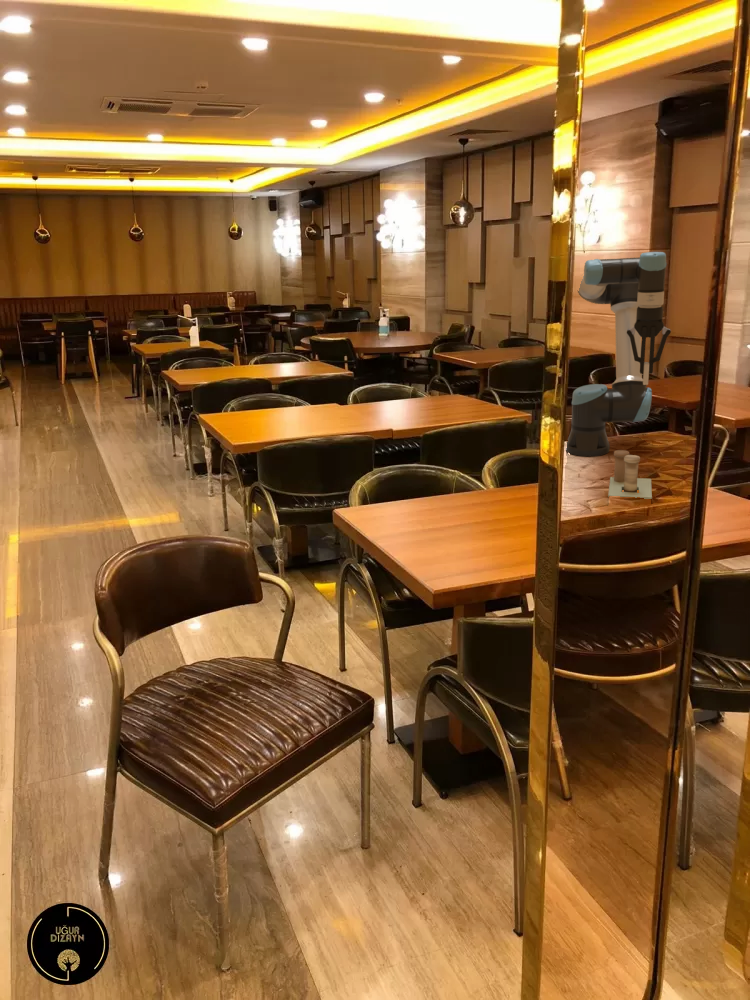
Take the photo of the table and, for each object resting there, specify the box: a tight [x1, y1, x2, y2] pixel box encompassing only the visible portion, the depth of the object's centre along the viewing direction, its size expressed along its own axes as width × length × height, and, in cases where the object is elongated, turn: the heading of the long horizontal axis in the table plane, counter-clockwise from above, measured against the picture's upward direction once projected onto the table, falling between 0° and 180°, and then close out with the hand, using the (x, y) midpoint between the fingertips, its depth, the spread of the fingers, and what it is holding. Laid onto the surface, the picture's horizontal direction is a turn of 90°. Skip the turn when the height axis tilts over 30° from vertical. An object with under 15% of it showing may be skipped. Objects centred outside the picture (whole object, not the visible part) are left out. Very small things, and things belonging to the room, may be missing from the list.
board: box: [607, 449, 653, 500], centre depth 242 cm, size 17×12×13 cm
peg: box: [624, 454, 641, 493], centre depth 239 cm, size 4×4×14 cm
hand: (645, 383), depth 252 cm, fingers closed
